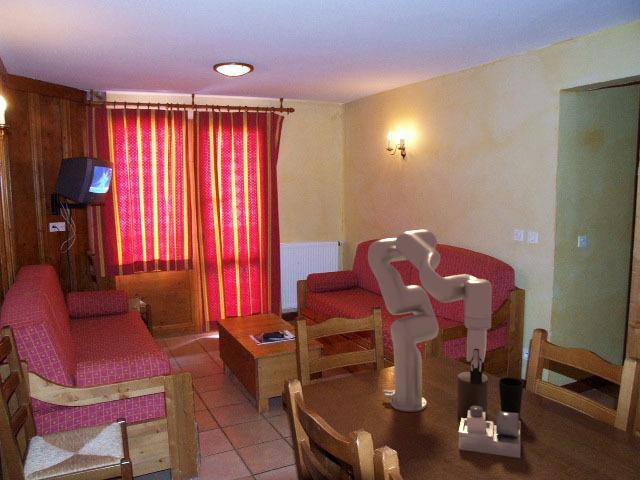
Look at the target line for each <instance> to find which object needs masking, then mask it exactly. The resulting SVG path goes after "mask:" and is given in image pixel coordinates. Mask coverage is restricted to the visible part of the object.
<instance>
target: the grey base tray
mask: <svg viewBox="0 0 640 480" xmlns="http://www.w3.org/2000/svg"><path fill="white" fill-rule="evenodd" d="M459 423H460V424H459V429H458V450H461V451H467V452H476V453H482V454H489V455H497V456H505V457H510V458H518V459H521V430H522V429H521V428H522V427H521V424H522V421H520V418H519V414H518V413H510V412H501V410H500V411H498V410H496V425H495V424H494V421H490V420H485V434H481V433H474V432H467V418H461V419H460V422H459Z"/></svg>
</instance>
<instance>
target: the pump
mask: <svg viewBox="0 0 640 480" xmlns="http://www.w3.org/2000/svg"><path fill="white" fill-rule="evenodd" d="M485 421H486V420H485V412H483V408H482V407H480V406H471V407H470V410H468V415H467V432H474V433H481V434H485Z"/></svg>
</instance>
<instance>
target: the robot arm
mask: <svg viewBox="0 0 640 480" xmlns="http://www.w3.org/2000/svg"><path fill="white" fill-rule="evenodd" d="M437 245H438V241H437V238H436V235H435V234H434V233H433V232H432V231H430V230H427V229H418V230H417V229H416V230H406V231H404V232H401V233H400V234H399V235H397V237H390V238H382V239H378V240H376V241H374V242H372V243H371V244H370V245H369V247H368V251H367V262H368V265H369V267H370V270H371V271H372V273H373V275H374V277H375V279H376V280H377V283H378V286H379V289H380V291H381V295H382V298H383V301H384V303H385V307H386V309H387V311H388V312H389V313H390V314H391V315H393V316H397V315H399V316H400V315H405V314H410V313H413V314H412V315H409V316H404V317H400V318H397V319H396V320H394V321H393V322H392V324H391V326H390V337H391V341H392V345H393V346H392V348H393V363H394V365H393V366H394V369H393V370H394V371H393V372H394V374H393V375H394V389H392V390H389V389H383V391H382V395H383V396H384V398H387V399H390V406H391V407H392V408H394V409H395V410H397V411H400V412H407V413H408V412H409V413H414V412H419V411H422V410H424V409H425V408H427V406H428V405H427V400H426V399H425V398H424V397H423V376H422V375H423V373H422V372H423V367H422V366H423V363H422V362H423V360H422V354H421V351H420V350H419V348H418V347H417V344H418V343H422V342H426V341H430V340H434V339H435V338H436V337H437V336H438V334H439V329H440V328H439V322H438V319H437V316H436V314H435V312H434V309H433V306H432V303H431V300H430V297H429V295H430V296H432V297H433V298H434V299H435V300H436V301H438V302H440V303H453V302H456V301H462V300H463V301H464V317H463V318H464V327H465V328H466V329H467V336H466V337H467V338H466V361H467V362H468V363H469V362H470V363H471V364H470V371H469V372H470V383H471V384H479V385H481V384H482V374H483V373H484V370H485V368H484V367H485V365H484V364H485V358H486V353H487V335H488V332H487V330H490V329H491V328H492V301H493V300H492V299H493V297H492V295H493V294H492V293H493V289H492V283H491V282H490V281H489V280H487V279H484V278H477V277H475V276H473V275H470V274H467V273H462V274H457V275H456V274H455V275H450V276H445V277H442V276H441V275H440V274H439V273H437V272H436V271H435V270H436V269H437V268H438V267H439V264H441V263H440V262H441V253H439V251H438V250H437ZM400 261H409V262H410V263H411V264H412V266H414V267H415V268H416V269H417V270H418V271H419V272H418V277H419V280H420V283H421V285H422V286H420V285H417V284H411V285H405V284H404V281H403V278H402V275H401V273H400V272H399V271H398V270H397V268H396V267H395V266H393V265H392V264H391V263H393V262H400ZM428 294H429V295H428Z"/></svg>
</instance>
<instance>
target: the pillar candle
mask: <svg viewBox="0 0 640 480" xmlns="http://www.w3.org/2000/svg"><path fill="white" fill-rule="evenodd" d="M488 381H489V379H488V376H487V375H485V374H483V373H482V384H481V385H479V384H471V383H470V371H462V372H461V373H459V374H458V375H457V399H456V400H457V401H456V402H457V403H456V405H457V406H456V407H457V408H456V414H457V417H458V418H459V419H460V420H461V418H467V415H468V410H470V407H471V406H480V407H482V408H483V412H485V421H487V420H488V391H489V390H488V389H489V383H488Z"/></svg>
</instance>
